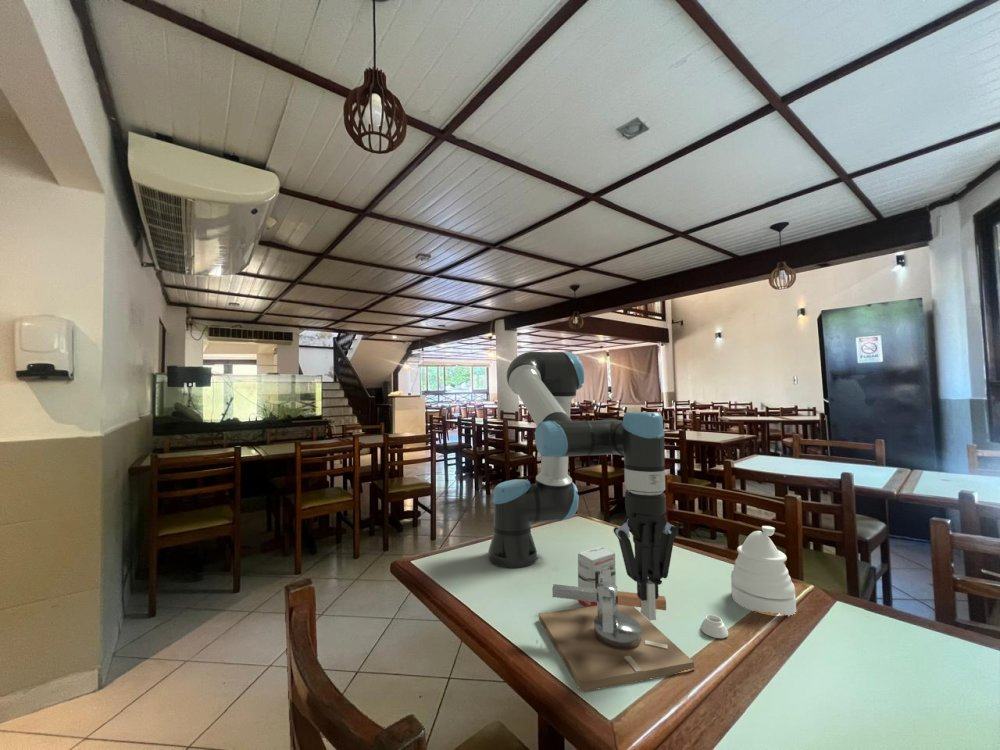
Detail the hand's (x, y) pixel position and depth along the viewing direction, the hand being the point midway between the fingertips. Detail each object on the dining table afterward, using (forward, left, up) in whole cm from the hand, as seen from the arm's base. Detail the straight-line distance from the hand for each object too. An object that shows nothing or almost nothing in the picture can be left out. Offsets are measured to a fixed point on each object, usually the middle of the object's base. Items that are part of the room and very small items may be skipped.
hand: (648, 616), depth 74 cm
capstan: (-6, -6, -5) cm, 10 cm away
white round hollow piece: (-4, +18, -8) cm, 20 cm away
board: (-6, -6, -7) cm, 11 cm away
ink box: (-21, 0, -8) cm, 22 cm away
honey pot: (-11, +38, -8) cm, 41 cm away
